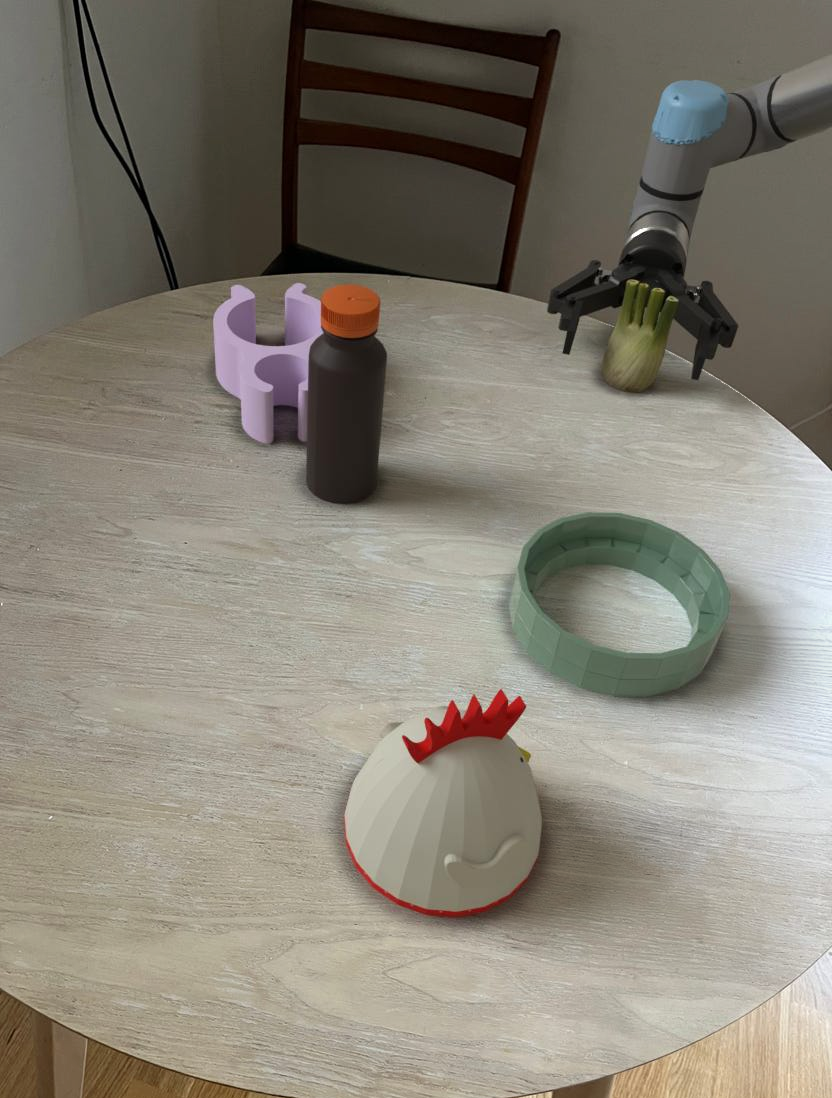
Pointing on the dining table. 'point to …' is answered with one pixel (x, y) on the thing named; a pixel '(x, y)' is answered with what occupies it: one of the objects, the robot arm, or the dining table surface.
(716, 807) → the dining table surface
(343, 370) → the bottle
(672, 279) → the robot arm
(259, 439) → the clip
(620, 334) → the fennel bulb
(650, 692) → the green faceted ring
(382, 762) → the kitchen timer
